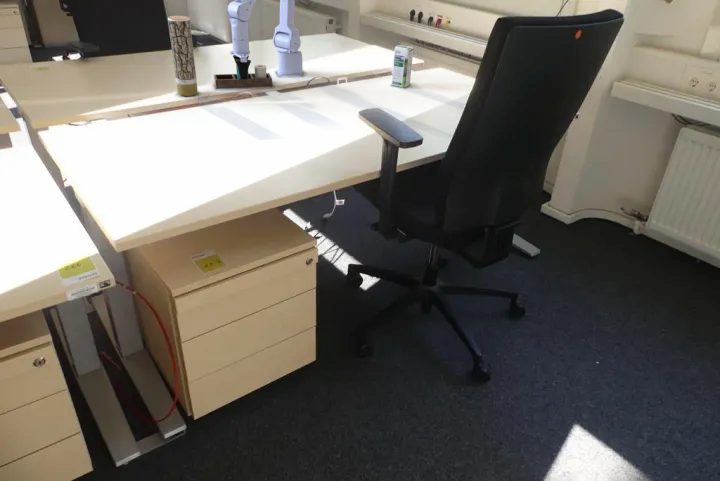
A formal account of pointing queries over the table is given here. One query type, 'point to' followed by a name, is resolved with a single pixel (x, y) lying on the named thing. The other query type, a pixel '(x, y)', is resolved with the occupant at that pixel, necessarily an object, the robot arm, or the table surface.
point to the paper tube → (183, 55)
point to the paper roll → (238, 73)
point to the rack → (241, 81)
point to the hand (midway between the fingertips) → (242, 77)
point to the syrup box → (402, 66)
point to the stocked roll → (260, 71)
